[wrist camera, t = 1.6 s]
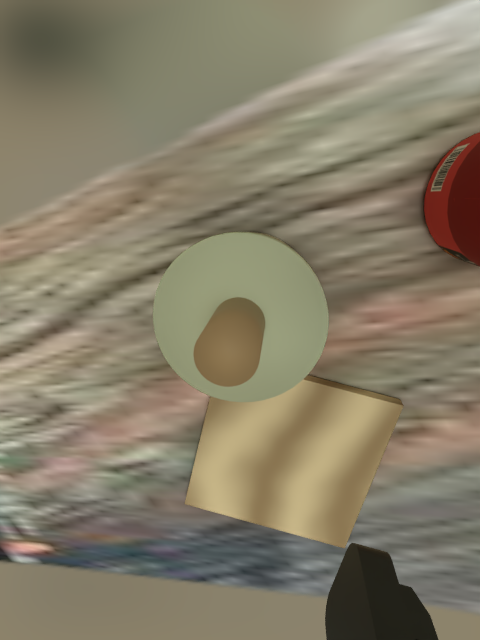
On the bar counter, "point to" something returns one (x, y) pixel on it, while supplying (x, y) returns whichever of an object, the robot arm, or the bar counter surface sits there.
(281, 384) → the lid
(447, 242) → the canned food
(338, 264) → the bar counter surface
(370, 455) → the mat
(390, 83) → the bar counter surface
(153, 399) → the bar counter surface
